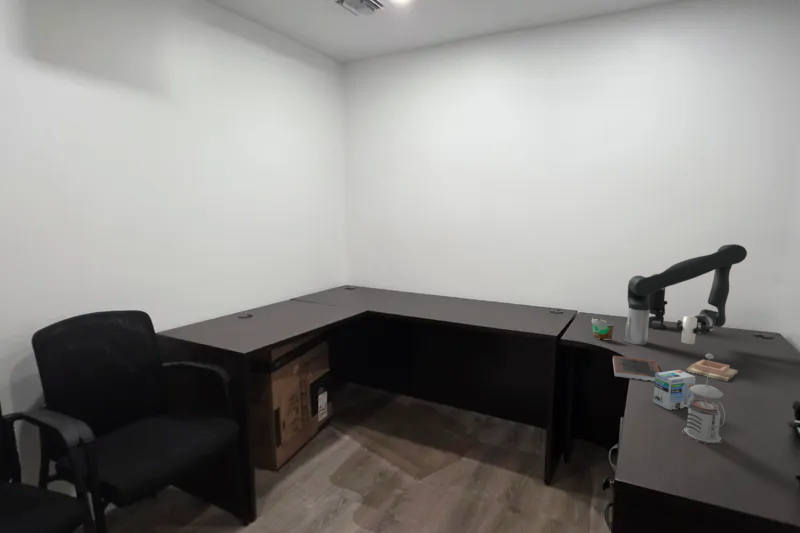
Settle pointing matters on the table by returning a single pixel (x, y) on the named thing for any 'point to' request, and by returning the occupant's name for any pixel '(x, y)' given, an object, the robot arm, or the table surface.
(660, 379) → the light bulb box
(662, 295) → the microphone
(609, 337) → the food container
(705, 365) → the roll holder
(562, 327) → the table surface
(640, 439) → the table surface
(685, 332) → the paper roll
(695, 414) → the french press
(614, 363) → the picture frame
